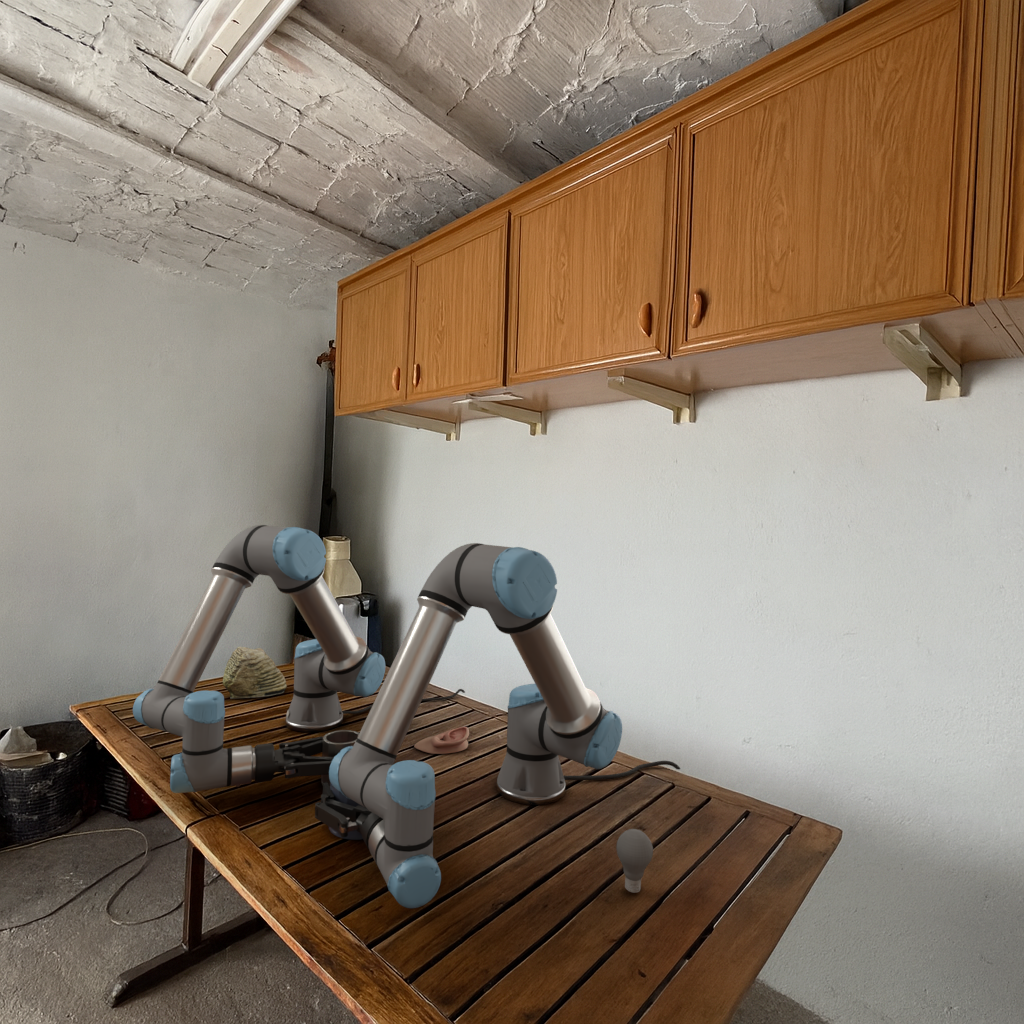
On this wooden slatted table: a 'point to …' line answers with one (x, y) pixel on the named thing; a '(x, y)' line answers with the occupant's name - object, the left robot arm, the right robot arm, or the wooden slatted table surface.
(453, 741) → the anatomical model
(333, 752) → the cup
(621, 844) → the light bulb
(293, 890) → the wooden slatted table surface
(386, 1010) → the wooden slatted table surface
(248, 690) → the fossil
